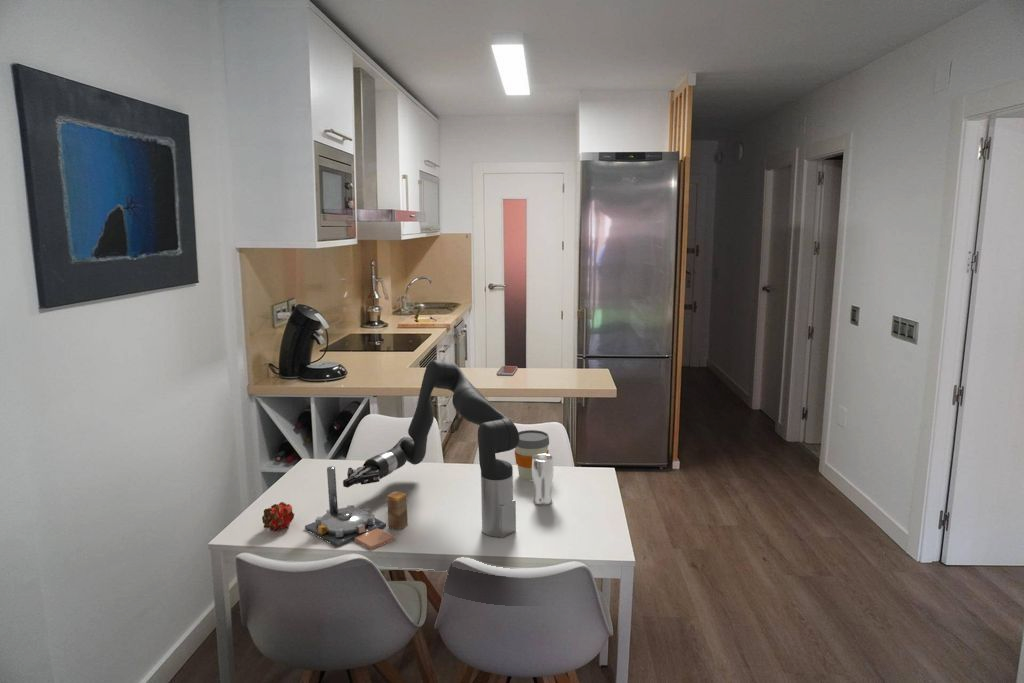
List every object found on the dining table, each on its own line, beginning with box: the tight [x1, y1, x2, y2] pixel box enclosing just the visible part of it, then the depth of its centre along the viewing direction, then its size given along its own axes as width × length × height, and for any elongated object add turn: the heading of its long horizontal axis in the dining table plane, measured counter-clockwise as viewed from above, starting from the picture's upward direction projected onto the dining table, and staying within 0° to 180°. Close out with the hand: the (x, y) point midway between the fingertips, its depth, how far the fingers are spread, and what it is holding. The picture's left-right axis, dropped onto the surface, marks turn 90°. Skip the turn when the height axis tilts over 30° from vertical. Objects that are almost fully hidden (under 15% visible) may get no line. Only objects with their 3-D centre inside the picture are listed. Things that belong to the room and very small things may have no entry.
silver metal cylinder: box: [532, 453, 555, 506], centre depth 218 cm, size 7×7×15 cm
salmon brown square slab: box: [354, 528, 395, 550], centre depth 195 cm, size 8×8×1 cm
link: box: [386, 490, 409, 531], centre depth 202 cm, size 4×4×10 cm
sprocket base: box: [304, 517, 387, 548], centre depth 203 cm, size 17×17×1 cm
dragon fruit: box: [261, 501, 295, 532], centre depth 203 cm, size 8×8×12 cm
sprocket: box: [314, 466, 376, 537], centre depth 201 cm, size 17×17×16 cm
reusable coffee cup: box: [514, 429, 550, 482], centre depth 240 cm, size 13×13×15 cm
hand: (345, 484), depth 210 cm, fingers closed
